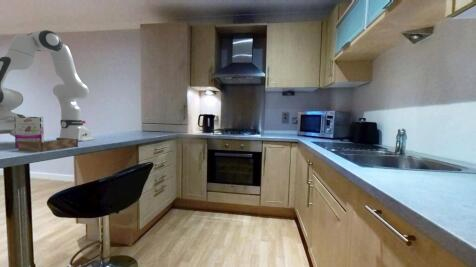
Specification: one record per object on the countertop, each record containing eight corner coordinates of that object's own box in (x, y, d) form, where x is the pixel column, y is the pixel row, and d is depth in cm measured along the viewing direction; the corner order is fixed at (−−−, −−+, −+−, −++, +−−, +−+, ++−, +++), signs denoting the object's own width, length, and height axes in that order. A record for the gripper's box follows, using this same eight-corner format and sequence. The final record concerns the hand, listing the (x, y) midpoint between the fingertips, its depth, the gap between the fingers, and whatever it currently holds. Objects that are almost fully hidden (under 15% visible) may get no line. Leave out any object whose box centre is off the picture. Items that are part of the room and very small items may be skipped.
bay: (58, 145, 138) (58, 137, 138) (77, 146, 136) (77, 138, 136) (18, 149, 117) (18, 140, 117) (40, 151, 115) (40, 142, 115)
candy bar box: (44, 145, 134) (43, 116, 132) (41, 147, 129) (41, 117, 128) (18, 146, 128) (17, 116, 127) (14, 147, 124) (14, 116, 123)
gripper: (-15, 114, 120) (1, 135, 119) (27, 115, 140) (41, 132, 139) (-22, 123, 121) (-6, 143, 120) (21, 122, 141) (35, 139, 140)
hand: (20, 137), depth 130 cm, fingers closed
